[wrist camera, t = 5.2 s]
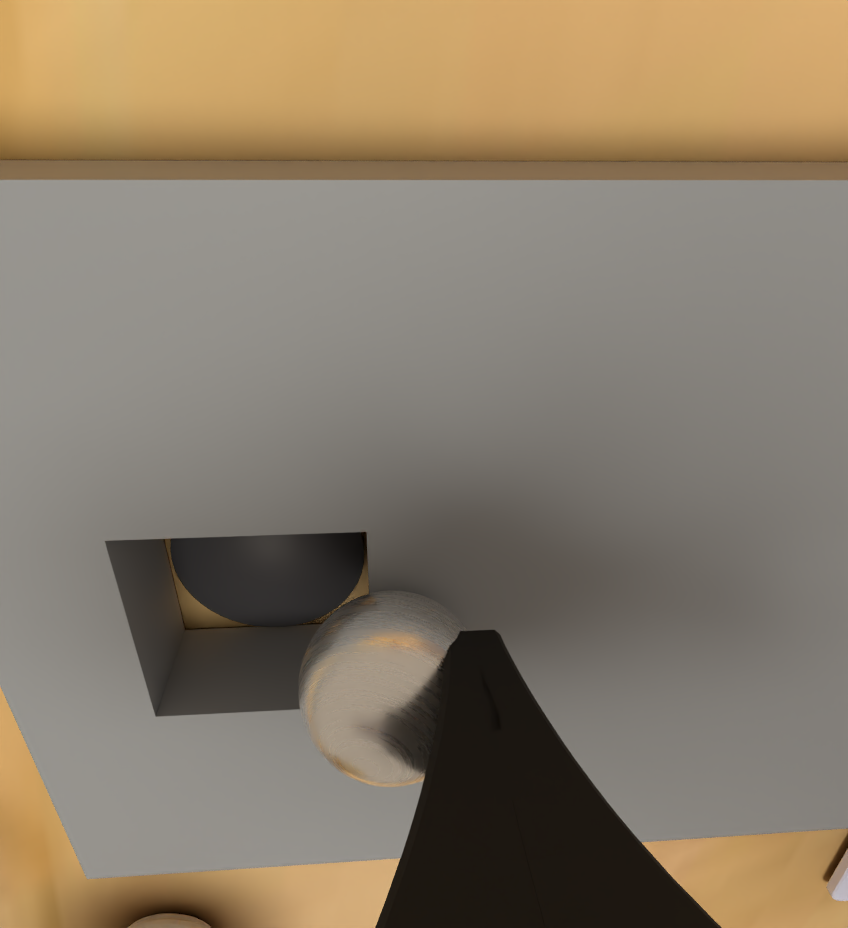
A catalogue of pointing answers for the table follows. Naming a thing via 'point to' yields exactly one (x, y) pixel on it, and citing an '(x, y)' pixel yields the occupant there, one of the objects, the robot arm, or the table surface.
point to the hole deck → (422, 480)
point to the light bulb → (169, 921)
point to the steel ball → (377, 685)
